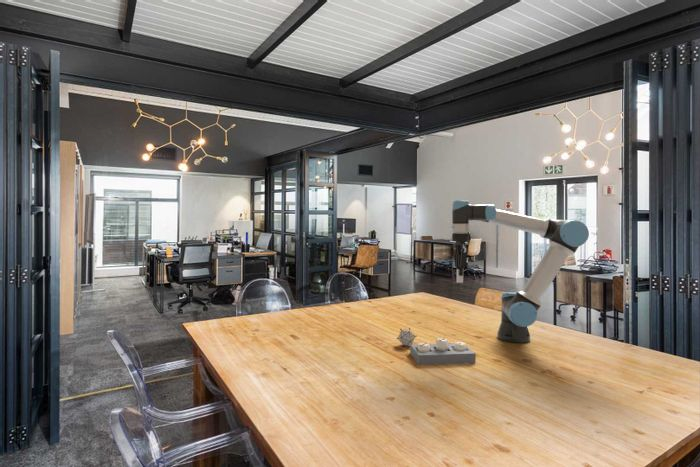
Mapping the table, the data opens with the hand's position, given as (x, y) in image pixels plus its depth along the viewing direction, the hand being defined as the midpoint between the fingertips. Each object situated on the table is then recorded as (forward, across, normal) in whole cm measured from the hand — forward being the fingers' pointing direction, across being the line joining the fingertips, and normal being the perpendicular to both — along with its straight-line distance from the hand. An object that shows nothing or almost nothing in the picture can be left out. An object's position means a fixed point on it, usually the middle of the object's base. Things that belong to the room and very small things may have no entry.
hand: (459, 282), depth 191 cm
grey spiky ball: (+30, +1, -26) cm, 39 cm away
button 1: (+28, +19, -7) cm, 35 cm away
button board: (+29, +19, -15) cm, 38 cm away
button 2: (+27, +19, -15) cm, 36 cm away
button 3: (+28, +19, -23) cm, 41 cm away
